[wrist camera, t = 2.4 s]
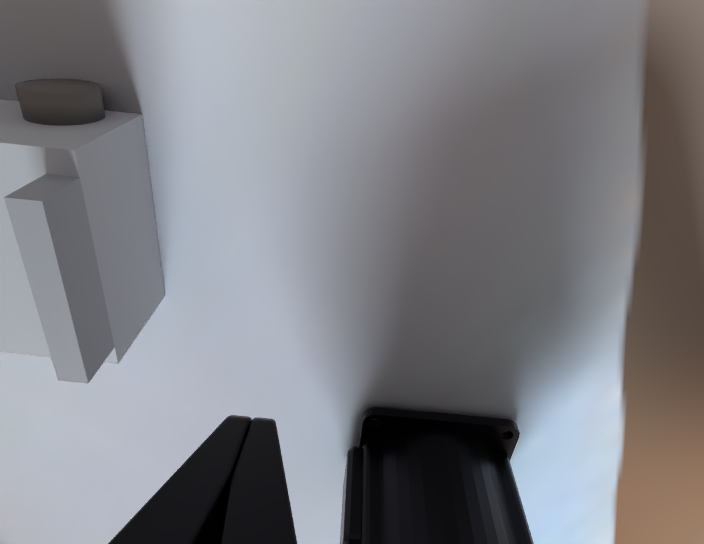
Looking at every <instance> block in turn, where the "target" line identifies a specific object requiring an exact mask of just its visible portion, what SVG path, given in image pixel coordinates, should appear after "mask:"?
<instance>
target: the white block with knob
mask: <svg viewBox="0 0 704 544" xmlns="http://www.w3.org/2000/svg"><path fill="white" fill-rule="evenodd" d="M15 87H16V91H17V95H18V99H19V101H13V100H3V99H0V352H3V353H13V354H23V355H33V356H43V357H51V358H52V362H53V365H54V368H55V372H56V375H57V378H58V380H59V381H69V382H80V383H89V382H90V380H91V379H92V378H93V376H94V375H95V373H96V372H97V371H98V369H99V368H100V367H101V365H102V364H103V362H104V363H114V364H118V363H119V362H120V360H121V359H122V358H123V356H124V355H125V353H126V352H127V350H128V349H129V347H130V346H131V344H132V343H133V341H134V340H135V339H136V337H137V336H138V334H139V333H140V331H141V330H142V328H143V327H144V325H145V324H146V323H147V321H148V320H149V318H150V317H151V315H152V314H153V312H154V311H155V309H156V308H157V307H158V305H159V304H160V302H161V301H162V299H163V298H164V296H165V289H164V281H163V273H162V265H161V257H160V249H159V241H158V233H157V225H156V217H155V209H154V201H153V193H152V186H151V178H150V170H149V162H148V154H147V146H146V138H145V130H144V122H143V114H135V113H126V112H116V111H107V110H104V103H103V97H102V91H101V86H100V85H99V84H97V83H94V82H89V81H83V80H73V79H39V80H30V81H24V82H20V83H18V84H16V85H15Z"/></svg>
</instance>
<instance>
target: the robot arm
mask: <svg viewBox="0 0 704 544" xmlns="http://www.w3.org/2000/svg"><path fill="white" fill-rule="evenodd" d="M372 419H378V420H372ZM505 431H507V432H505ZM519 434H520V433H519V430H518V427H517V425H516V423H515V422H514V421H512V420H508V419H498V418H487V417H476V416H466V415H455V414H444V413H433V412H423V411H412V410H401V409H390V408H380V407H371V408H369V409H367V410H366V411H364V413H363V418H362V425H361V432H360V439H359V446H358V447H352V448H351V449H350V450H349V451H348V454H347V462H346V469H345V477H344V485H343V501H342V518H341V535H340V544H533V540H532V537H531V533H530V530H529V526H528V523H527V520H526V516H525V513H524V509H523V506H522V502H521V499H520V496H519V492H518V489H517V485H516V482H515V478H514V475H513V472H512V468H511V465H510V459H511V456H512V453H513V451H514V448H515V446H516V443H517V441H518V438H519ZM108 544H297V540H296V535H295V529H294V523H293V518H292V512H291V506H290V501H289V495H288V489H287V484H286V478H285V472H284V467H283V461H282V455H281V450H280V444H279V438H278V433H277V427H276V422H275V420H273V419H267V418H254V419H253V420H252V419H251V418H250V417H247V416H236V415H231V416H228V417H227V418H226V419H225V420H224V421H223V422H222V423H221V424H220V425H219V426H218V427H217V429H216V430H215V431H214V432H213V433H212V434H211V435H210V436H209V437H208V438H207V439H206V440H205V441H204V442H203V443H202V444H201V446H200V447H199V448H198V449H197V450H196V451H195V452H194V453H193V454H192V455H191V456H190V457H189V458H188V459H187V460H186V461H185V463H184V464H183V465H182V466H181V467H180V468H179V469H178V470H177V471H176V472H175V473H174V474H173V475H172V476H171V477H170V478H169V480H168V481H167V482H166V483H165V484H164V485H163V486H162V487H161V488H160V489H159V490H158V491H157V492H156V493H155V494H154V495H153V497H152V498H151V499H150V500H149V501H148V502H147V503H146V504H145V505H144V506H143V507H142V508H141V509H140V510H139V511H138V513H137V514H136V515H135V516H134V517H133V518H132V519H131V520H130V521H129V522H128V523H127V524H126V525H125V526H124V527H123V528H122V530H121V531H120V532H119V533H118V534H117V535H116V536H115V537H114V538H113V539H112V540H111V541H110V542H109V543H108Z"/></svg>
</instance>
